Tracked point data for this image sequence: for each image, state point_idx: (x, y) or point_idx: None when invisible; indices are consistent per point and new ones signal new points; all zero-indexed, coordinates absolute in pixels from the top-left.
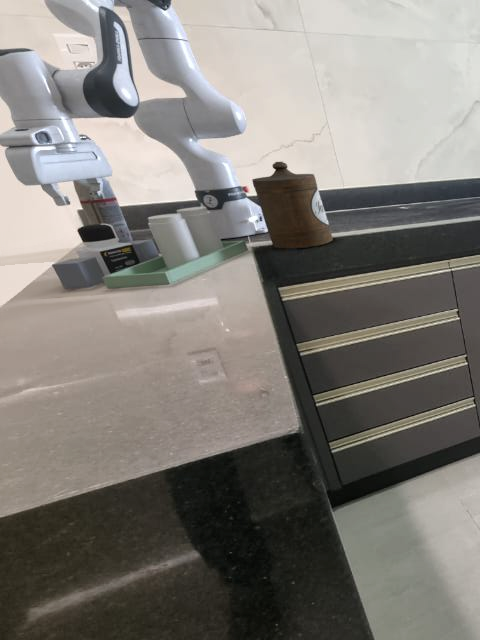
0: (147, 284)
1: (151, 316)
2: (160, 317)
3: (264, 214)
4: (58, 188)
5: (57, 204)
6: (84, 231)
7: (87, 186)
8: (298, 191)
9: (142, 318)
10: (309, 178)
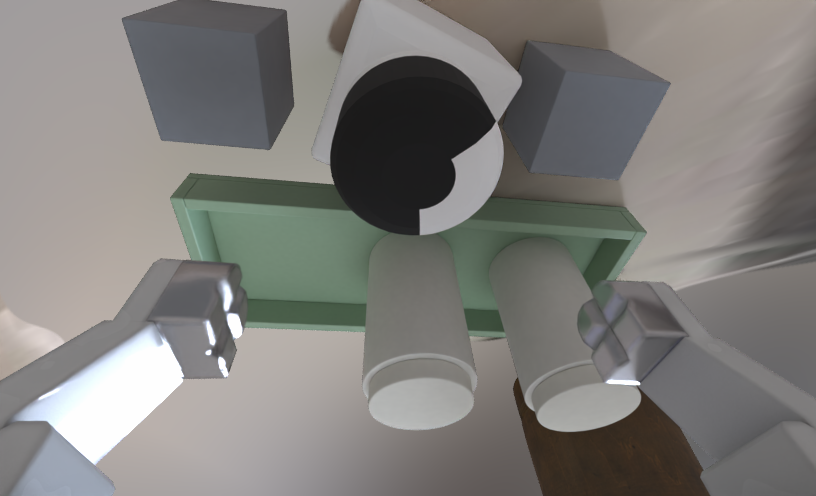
0: None
1: (25, 353)
2: (26, 365)
3: (582, 443)
4: (105, 481)
5: (158, 271)
6: (330, 158)
7: None
8: None
9: (11, 347)
10: None
